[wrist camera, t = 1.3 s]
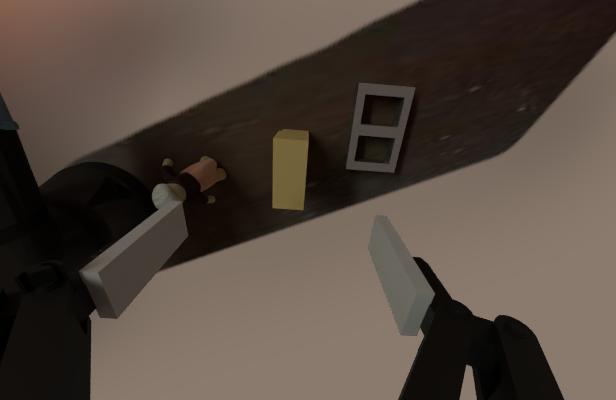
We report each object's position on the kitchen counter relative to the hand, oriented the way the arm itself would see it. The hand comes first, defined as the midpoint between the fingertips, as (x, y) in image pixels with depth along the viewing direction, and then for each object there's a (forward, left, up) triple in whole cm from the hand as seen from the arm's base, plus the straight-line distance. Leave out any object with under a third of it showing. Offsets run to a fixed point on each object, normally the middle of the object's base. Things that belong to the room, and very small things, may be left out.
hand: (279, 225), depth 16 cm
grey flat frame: (+11, +5, -20) cm, 23 cm away
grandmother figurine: (-13, -3, -20) cm, 24 cm away
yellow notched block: (0, 0, -20) cm, 20 cm away
